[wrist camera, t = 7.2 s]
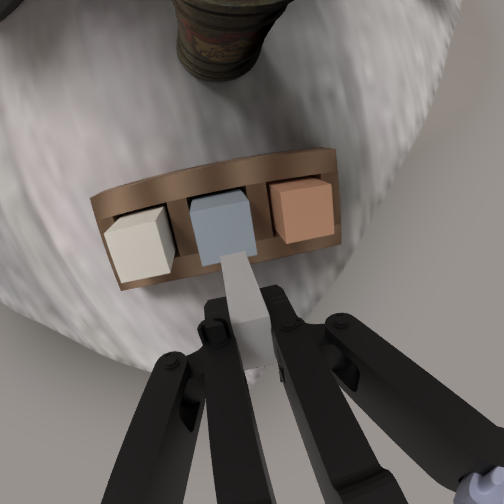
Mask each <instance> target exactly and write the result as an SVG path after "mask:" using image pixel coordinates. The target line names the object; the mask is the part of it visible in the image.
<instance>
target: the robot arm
mask: <svg viewBox="0 0 504 504" xmlns="http://www.w3.org/2000/svg"><path fill="white" fill-rule="evenodd" d="M22 1H23V0H0V21H1V20H3V19H4V18H5V17H6V16H8V15H9V14H10V13H11V12H12V11H13V10H14V9H15V8H16V7H17V6H18V5H19V4H20V3H21V2H22ZM220 259H221V266H222V272H223V279H224V285H225V291H226V297H221V298H216V299H211V300H208V301H207V303H206V304H205V306H204V313H205V314H204V315H205V320H203V321H202V322H201V323H200V324H199V325H198V329H197V330H198V333H199V336H200V339H201V342H202V344H203V346H202V347H201V348H200V349H199V350H198V351H196V352H194V353H192V354H190V355H187V356H185V355H184V354H183V353H181V352H176V351H174V352H169V353H166V354H164V355H162V356H161V357H160V358H159V359H158V360H157V362H156V364H155V366H154V368H153V371H152V373H151V376H150V378H149V380H148V382H147V385H146V387H145V389H144V392H143V394H142V396H141V399H140V401H139V404H138V406H137V409H136V411H135V414H134V416H133V418H132V421H131V423H130V426H129V428H128V431H127V434H126V436H125V439H124V441H123V444H122V446H121V449H120V452H119V454H118V457H117V459H116V462H115V465H114V468H113V470H112V473H111V476H110V479H109V481H108V484H107V487H106V490H105V493H104V496H103V499H102V502H101V504H183V500H184V495H185V491H186V486H187V481H188V476H189V472H190V467H191V463H192V459H193V454H194V450H195V445H196V441H197V436H198V432H199V427H200V422H201V418H202V414H203V410H204V405H205V399H206V406H207V418H208V430H209V440H210V450H211V458H212V467H213V475H214V483H215V491H216V498H217V504H277V503H276V500H275V496H274V493H273V488H272V485H271V481H270V477H269V474H268V469H267V465H266V461H265V458H264V453H263V449H262V445H261V441H260V437H259V433H258V428H257V424H256V420H255V416H254V411H253V407H252V402H251V398H250V394H249V389H248V384H247V380H246V376H245V373H244V370H249V369H253V368H258V367H262V366H266V365H270V364H274V363H277V362H278V367H279V374H280V381H281V382H283V384H284V387H285V390H286V393H287V396H288V399H289V402H290V405H291V407H292V410H293V414H294V416H295V419H296V422H297V425H298V428H299V431H300V434H301V437H302V439H303V442H304V445H305V448H306V450H307V453H308V456H309V459H310V462H311V465H312V468H313V470H314V473H315V476H316V479H317V482H318V484H319V487H320V490H321V493H322V496H323V498H324V501H325V504H408V502H407V500H406V498H405V497H404V494H403V492H402V490H401V488H400V487H399V485H398V483H397V481H396V479H395V477H394V476H393V474H392V473H391V472H390V471H389V470H386V469H384V468H382V467H381V466H380V464H379V463H378V460H377V459H376V456H375V455H374V453H373V451H372V449H371V447H370V445H369V443H368V441H367V439H366V437H365V435H364V433H363V431H362V429H361V427H360V425H359V423H358V421H357V420H356V418H355V416H354V414H353V412H352V410H351V408H350V406H349V404H348V402H347V401H346V398H345V397H344V395H343V393H342V391H341V389H340V387H341V388H342V389H343V390H344V391H345V392H346V393H347V394H348V395H349V396H350V398H352V399H353V401H354V402H355V403H356V404H357V405H358V406H359V407H360V408H361V409H362V410H363V411H364V412H365V413H366V414H367V415H368V416H369V417H370V418H371V419H372V420H373V421H374V422H375V423H376V424H377V425H378V426H379V427H380V428H381V429H382V430H383V431H384V432H385V433H386V434H387V435H388V436H389V437H390V438H391V439H392V440H393V441H394V442H395V443H396V444H397V445H398V446H399V447H400V448H401V449H402V450H403V451H404V452H405V453H406V454H407V455H408V456H409V457H410V458H412V459H413V460H414V461H415V462H416V463H417V464H418V465H419V466H420V467H421V468H422V469H423V470H424V471H425V472H426V473H427V474H428V475H429V476H431V477H432V478H433V479H434V480H435V481H436V482H438V483H439V484H441V485H442V486H444V487H446V488H447V489H449V490H452V491H454V492H456V494H455V497H454V500H453V502H454V504H504V428H502V427H498V426H496V425H495V424H494V423H492V422H491V421H490V420H488V419H487V418H486V417H485V416H483V415H482V414H481V413H480V412H478V411H477V410H476V409H474V408H473V407H472V406H471V405H469V404H468V403H467V402H465V401H464V400H463V399H462V398H460V397H459V396H458V395H456V394H455V393H454V392H453V391H451V390H450V389H449V388H447V387H446V386H445V385H443V384H442V383H441V382H440V381H438V380H437V379H436V378H434V377H433V376H432V375H430V374H429V373H428V372H426V371H425V370H424V369H423V368H421V367H420V366H419V365H417V364H416V363H415V362H413V361H412V360H411V359H410V358H408V357H407V356H405V355H404V354H403V353H402V352H400V351H399V350H398V349H396V348H395V347H394V346H392V345H391V344H390V343H388V342H387V341H386V340H384V339H383V338H382V337H380V336H379V335H378V334H377V333H375V332H374V331H372V330H371V329H370V328H369V327H367V326H366V325H365V324H363V323H362V322H360V321H359V320H358V319H356V318H355V317H353V316H352V315H350V314H347V313H336V314H333V315H331V316H329V317H328V318H327V319H326V321H325V324H308V323H305V322H304V321H303V320H302V318H299V317H297V315H296V313H295V311H294V309H293V307H292V305H291V304H290V302H289V300H288V298H287V296H286V294H285V292H284V290H283V289H282V288H281V287H279V286H278V285H272V286H268V287H263V288H259V287H258V284H257V282H256V279H255V276H254V274H253V271H252V268H251V266H250V263H249V261H248V258H247V255H246V253H245V251H242V252H238V253H233V254H228V255H224V256H220ZM276 359H277V361H276ZM339 386H340V387H339Z"/></svg>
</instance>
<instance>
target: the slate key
mask: <svg viewBox="0 0 504 504" xmlns="http://www.w3.org/2000/svg"><path fill="white" fill-rule="evenodd" d="M190 217H191V221H192V226H193V230H194V234H195V238H196V242H197V246H198V251H199V255H200V259H201V262H202V266H206V265H211V264H216V263H221V259H220V256H224V255H228V254H233V253H238V252H242V251H245V253H246V255H247V257H249V256H254V255H257V249H256V243H255V236H254V230H253V224H252V218H251V212H250V205H249V200H248V199H247V198H246V196H245V195H244V194H243V192H242V191H241V190H240V189H236V190H231V191H226V192H221V193H216V194H211V195H206V196H201V197H197V198H192V203H191V208H190Z"/></svg>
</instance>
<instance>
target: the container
mask: <svg viewBox="0 0 504 504" xmlns="http://www.w3.org/2000/svg"><path fill="white" fill-rule="evenodd" d="M292 1H294V0H172V2H173V5H174V7H175V12H176V17H177V21H178V37H177V54H178V58H179V60H180V62H181V64H182V65H183V66H184V67H185V69H186V70H187V71H189V72H190V73H191V74H193V75H194V76H196V77H198V78H201V79H204V80H208V81H214V82H221V81H228V80H233V79H236V78H238V77H240V76H242V75H244V74H245V73H247V72H248V71H249V70H250V69H251V68H252V67H253V66H254V64H255V63H256V61H257V59H258V57H259V54H260V52H261V48H262V45H263V42H264V39H265V37H266V35H267V34H268V32H269V30H270V29H271V27H272V26H273V24H274V23H275V21H276V20H277V19H278V18H279V17H280V16H281V15H282V14H283V12H284V11H285V9H286V7H287V5H288V4H289V3H290V2H292Z"/></svg>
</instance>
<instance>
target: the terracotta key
mask: <svg viewBox="0 0 504 504" xmlns="http://www.w3.org/2000/svg"><path fill="white" fill-rule="evenodd" d="M266 188H267V195H268V202H269V209H270V216H271V224H272V226H273V228H274V229H275V230H276V231H277V233H278V234H279V235H280V236H281V238H282V239H283V240H284V241H285V243H286V244H289V243H293V242H298V241H303V240H308V239H312V238H317V237H322V236H327V235H332V234H334V217H333V200H332V187H331V184H329V183H327V182H324V181H321V180H319V179H316V178H313V177H310V176H304V177H297V178H290V179H284V180H278V181H271V182H266Z"/></svg>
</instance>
